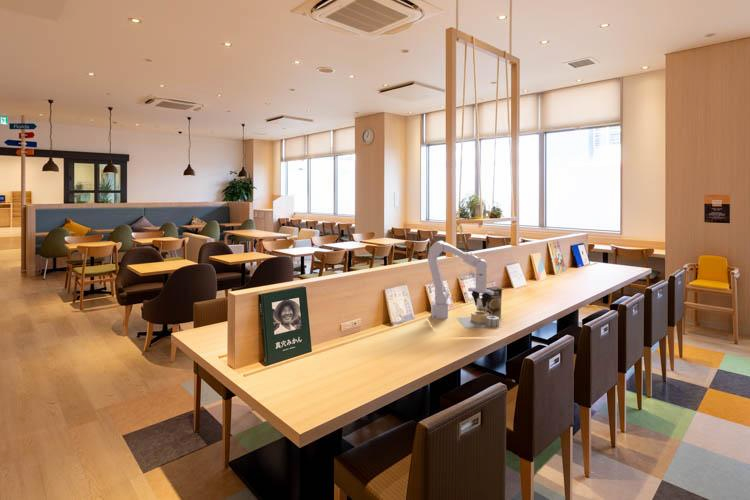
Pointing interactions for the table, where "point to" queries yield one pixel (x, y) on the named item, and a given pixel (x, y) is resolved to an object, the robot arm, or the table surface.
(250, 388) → the table surface
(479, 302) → the metal cylinder
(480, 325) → the fitting board
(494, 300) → the coffee box
